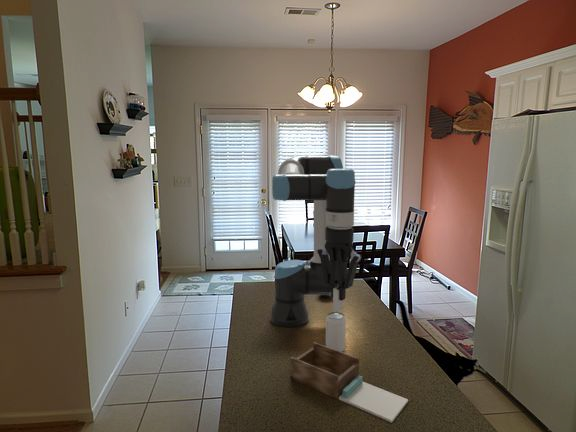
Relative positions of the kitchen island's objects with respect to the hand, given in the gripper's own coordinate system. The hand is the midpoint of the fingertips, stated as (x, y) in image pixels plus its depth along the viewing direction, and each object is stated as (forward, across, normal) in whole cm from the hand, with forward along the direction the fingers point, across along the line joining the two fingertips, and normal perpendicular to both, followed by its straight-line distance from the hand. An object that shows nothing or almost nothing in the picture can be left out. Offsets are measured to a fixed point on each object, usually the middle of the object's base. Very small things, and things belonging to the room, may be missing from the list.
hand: (337, 310), depth 108 cm
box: (+22, -4, 0) cm, 22 cm away
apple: (+23, -41, +56) cm, 73 cm away
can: (+22, -11, +17) cm, 30 cm away
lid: (+23, +12, -1) cm, 26 cm away
